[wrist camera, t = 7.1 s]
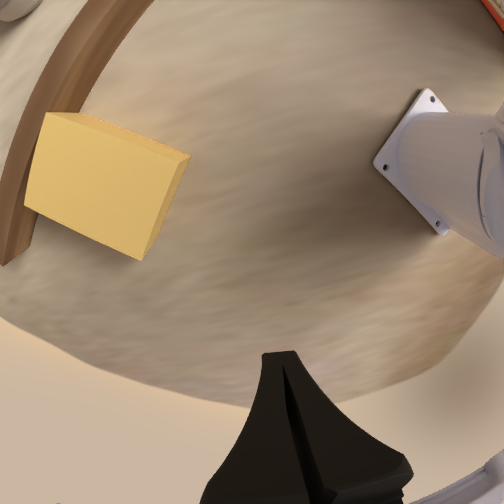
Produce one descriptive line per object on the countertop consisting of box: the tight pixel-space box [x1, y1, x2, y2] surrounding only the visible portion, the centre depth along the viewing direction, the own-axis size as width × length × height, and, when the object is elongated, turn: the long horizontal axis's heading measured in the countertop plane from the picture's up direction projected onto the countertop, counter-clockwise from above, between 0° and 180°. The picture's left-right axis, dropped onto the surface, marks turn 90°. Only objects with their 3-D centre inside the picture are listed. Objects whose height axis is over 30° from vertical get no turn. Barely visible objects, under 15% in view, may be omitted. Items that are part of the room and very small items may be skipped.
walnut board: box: [0, 0, 154, 266], centre depth 14 cm, size 2×24×4 cm, turn 145°
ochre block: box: [24, 112, 191, 261], centre depth 16 cm, size 9×6×4 cm, turn 64°
